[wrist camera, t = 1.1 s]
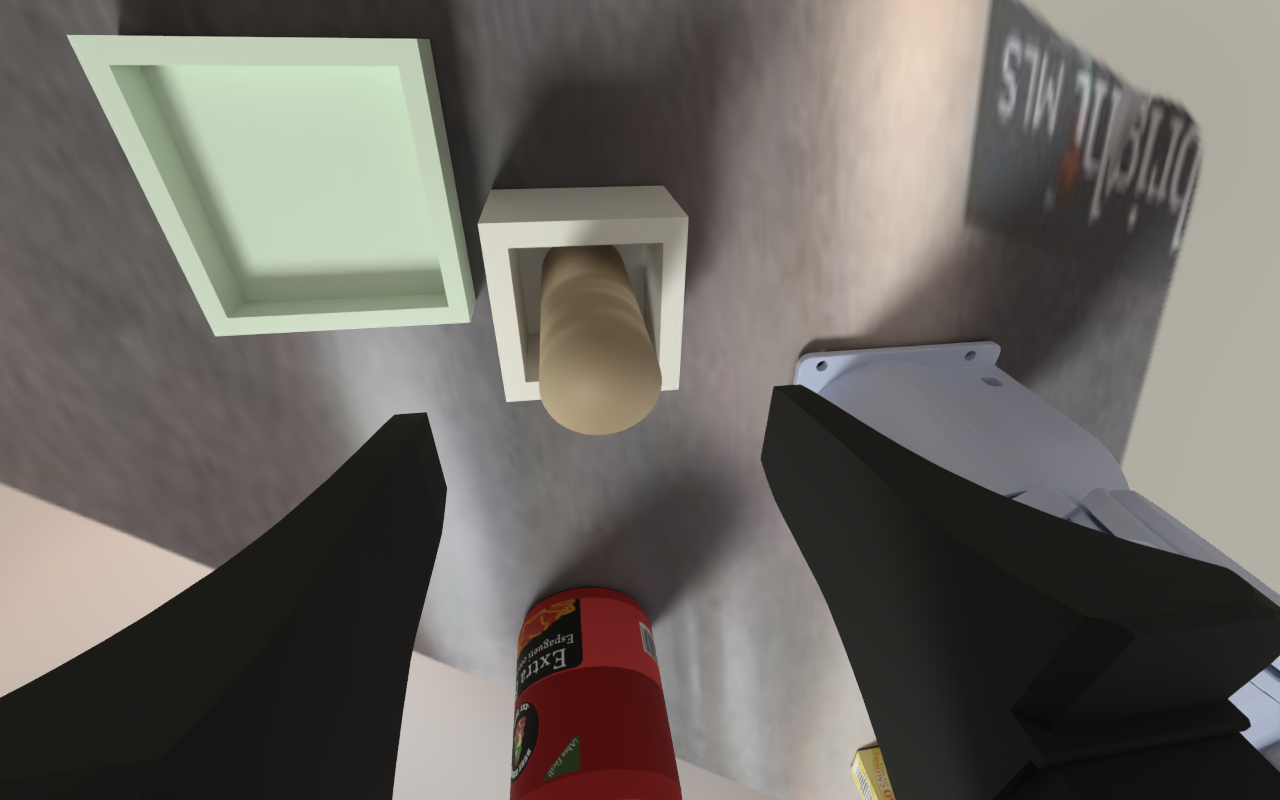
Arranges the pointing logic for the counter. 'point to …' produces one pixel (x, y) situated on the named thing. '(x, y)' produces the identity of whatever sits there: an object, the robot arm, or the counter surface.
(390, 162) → the tray
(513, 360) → the white open box
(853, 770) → the candy box
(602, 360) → the dowel
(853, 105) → the counter surface
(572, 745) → the canned food
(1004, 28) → the counter surface
